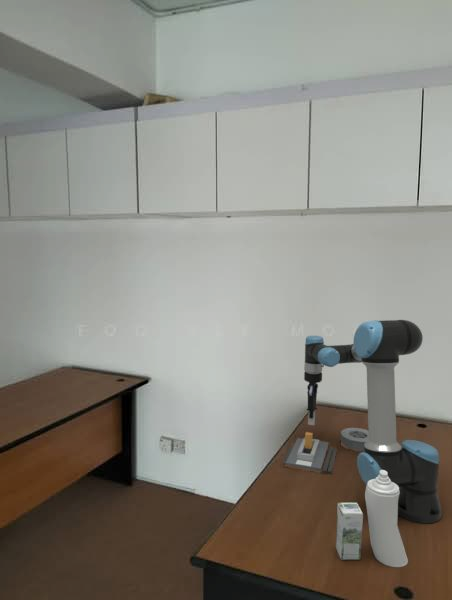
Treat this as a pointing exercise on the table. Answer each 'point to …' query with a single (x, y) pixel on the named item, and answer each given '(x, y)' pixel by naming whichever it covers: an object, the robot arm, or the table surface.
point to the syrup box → (349, 531)
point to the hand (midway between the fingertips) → (311, 424)
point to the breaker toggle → (308, 442)
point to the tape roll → (354, 438)
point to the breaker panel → (317, 459)
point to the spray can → (384, 520)
